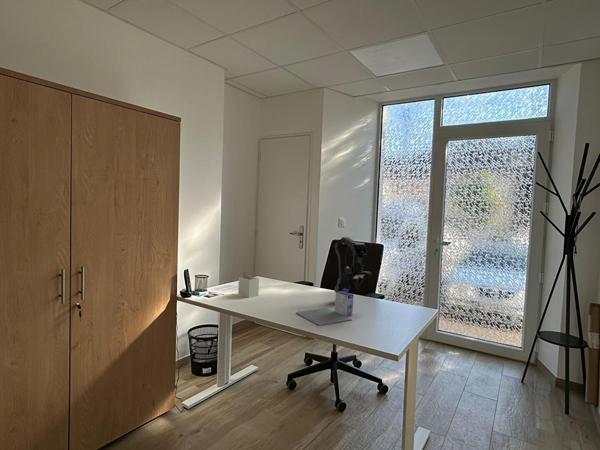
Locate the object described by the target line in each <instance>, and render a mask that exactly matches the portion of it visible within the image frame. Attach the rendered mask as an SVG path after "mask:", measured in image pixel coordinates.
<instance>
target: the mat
mask: <svg viewBox="0 0 600 450" xmlns="http://www.w3.org/2000/svg"><path fill="white" fill-rule="evenodd" d="M295 314H296V315H298V316H300V317H301V318H304V319H305V320H307V321H310V322H311V323H313V324H314V325H316V326H318V327H322V326H326V325H333V324H337V323H338V324H340V323H344V322H350V321H353V319H352V318H350V317H348V316H345V315H342V314H339V313H337V312H335V310H333V309H330V308H327V307H325V308H316V309H311V310H304V311H297V312H295Z"/></svg>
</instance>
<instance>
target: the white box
mask: <svg viewBox="0 0 600 450" xmlns="http://www.w3.org/2000/svg"><path fill="white" fill-rule="evenodd" d="M242 275H243V276H242V277H240V276H239V277H238V290H237V291H238V292H237V294H238V296H240V297H244V298H247V299H250V298H254V297H259V291H260V290H259V288H260V287H259V286H260V285H259V284H260V277H255V276H251V275H247V274H246V273H245V270H243V274H242Z"/></svg>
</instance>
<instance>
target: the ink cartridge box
mask: <svg viewBox="0 0 600 450" xmlns="http://www.w3.org/2000/svg"><path fill="white" fill-rule="evenodd" d="M344 290H347V292H346V291H344ZM344 290H343V292H335V299H334V311H335V312H337V313H339V314H341V315H344V316H346V317H348V316H353V311H354V310H353V309H354V293H350V292H349V293H348V289H344Z"/></svg>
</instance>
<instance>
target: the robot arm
mask: <svg viewBox="0 0 600 450" xmlns="http://www.w3.org/2000/svg"><path fill="white" fill-rule="evenodd" d="M349 248H350V251H352V252H353V253H352V254H351V256H352V257H353V259H352V264H351V266H350V267H349V266H347V261H346V255H347V252H348V249H349ZM334 251H335V252H334V253H336V255H337V259H338V261H337V263H338V279H337V282H336V285H335V286H334V292H335V293H336V292H343V290H344V289H348V293H350V291H351V290H350V289H351V283H350V282H351V281H350V280H352V281H353V285H354V288H355V289H356V290H359V288H360V286H361V285H362V283H363V281H364V280H365V279H366V278H365V277H368V278H372V277H373V273H372V272H371V271H366V270H365V271H364V270H363V268H365V267H368V266H369V265H370V264H371V258H370V257H369V256H368V255H369V254H368V250H367V248H366V245H365V243H364V242H357V241H355V240H353V239H351V238H350V237H348V236H343V237H341V238H340V239H339V240H336V242H335V243H334ZM344 291H346V292H347V290H344Z"/></svg>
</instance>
